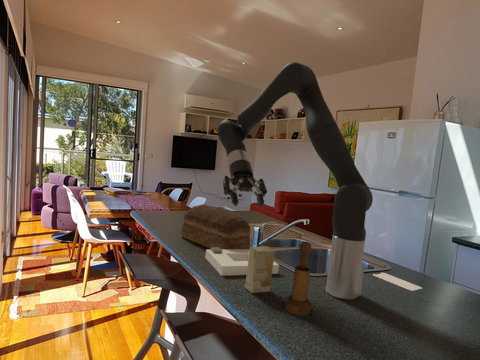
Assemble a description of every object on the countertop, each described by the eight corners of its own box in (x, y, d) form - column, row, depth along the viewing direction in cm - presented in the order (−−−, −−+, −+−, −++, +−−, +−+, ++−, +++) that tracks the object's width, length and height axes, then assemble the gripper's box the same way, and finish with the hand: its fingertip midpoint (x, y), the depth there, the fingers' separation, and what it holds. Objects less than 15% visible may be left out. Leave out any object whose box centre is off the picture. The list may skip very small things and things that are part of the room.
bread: (204, 233, 166) (207, 199, 165) (253, 252, 143) (258, 213, 142) (177, 236, 156) (180, 200, 155) (226, 257, 133) (230, 215, 132)
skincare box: (251, 293, 101) (256, 251, 100) (244, 287, 105) (248, 246, 104) (271, 291, 104) (275, 250, 103) (263, 286, 108) (267, 246, 107)
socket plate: (255, 256, 137) (257, 246, 137) (278, 273, 121) (279, 262, 120) (205, 257, 130) (206, 246, 129) (221, 275, 113) (222, 263, 113)
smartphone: (424, 289, 121) (382, 273, 134) (425, 288, 121) (383, 272, 134) (411, 292, 117) (369, 275, 130) (412, 291, 117) (369, 274, 130)
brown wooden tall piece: (310, 318, 90) (318, 247, 88) (284, 313, 91) (292, 243, 90) (310, 307, 96) (318, 241, 95) (286, 302, 97) (293, 237, 96)
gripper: (223, 156, 118) (231, 197, 109) (262, 160, 124) (273, 199, 114) (216, 171, 124) (224, 211, 114) (254, 174, 129) (264, 212, 120)
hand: (249, 205), depth 114 cm, fingers open, 8 cm apart
